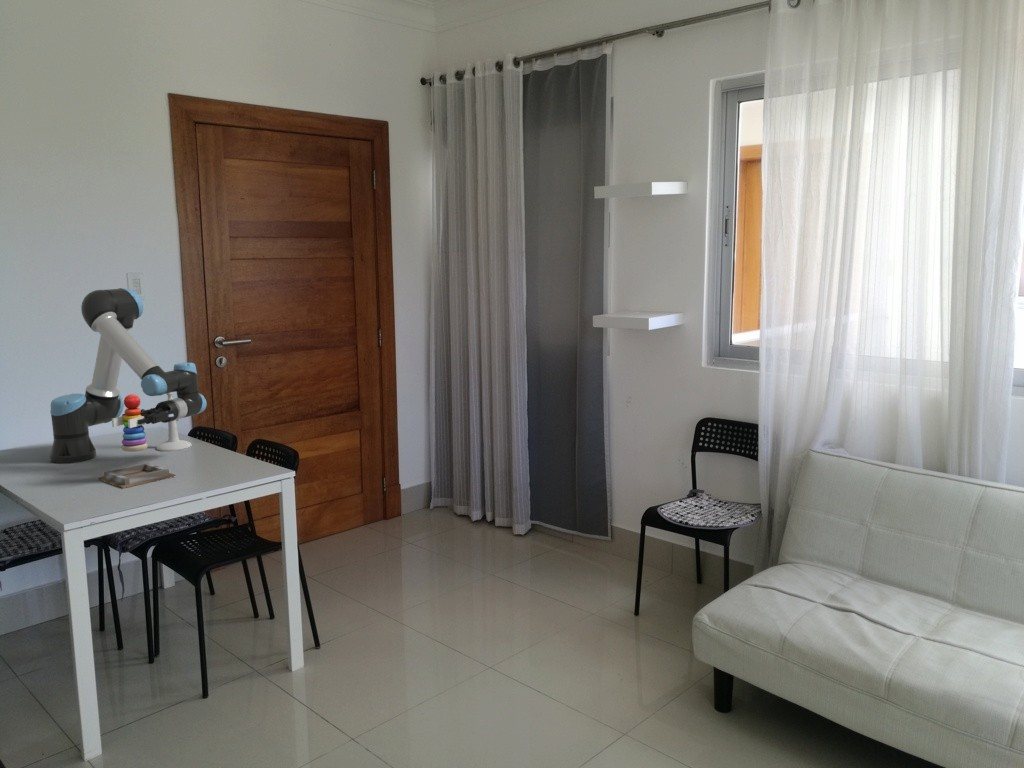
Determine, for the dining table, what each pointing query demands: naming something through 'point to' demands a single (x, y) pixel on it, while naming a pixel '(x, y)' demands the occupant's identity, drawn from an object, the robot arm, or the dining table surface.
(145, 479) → the plate
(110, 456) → the dining table surface
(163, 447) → the candlestick
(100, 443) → the dining table surface
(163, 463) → the dining table surface
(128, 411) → the stacking toy
